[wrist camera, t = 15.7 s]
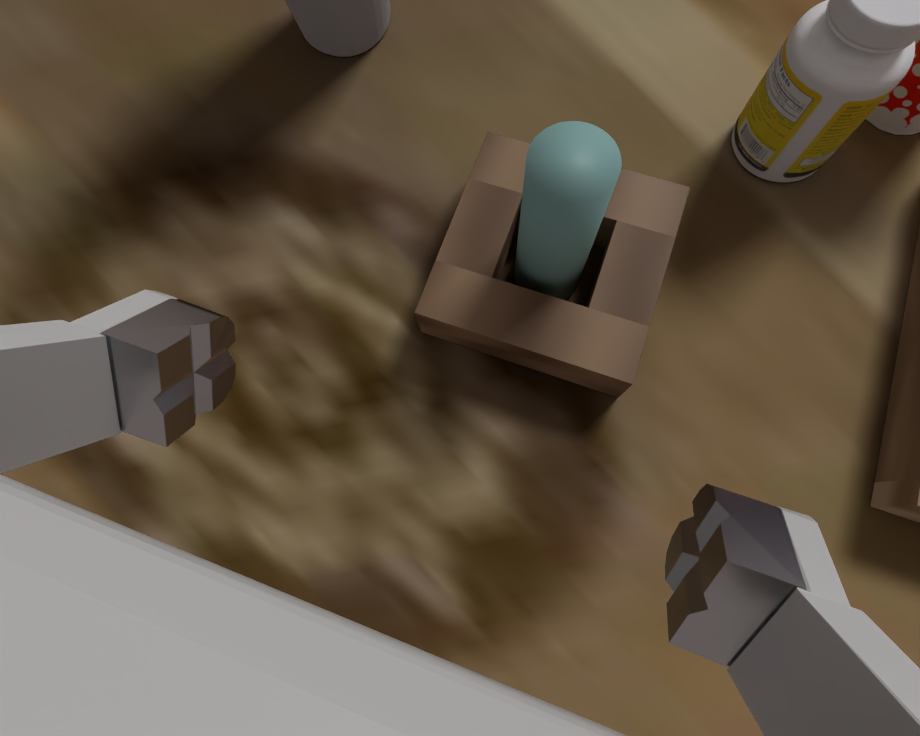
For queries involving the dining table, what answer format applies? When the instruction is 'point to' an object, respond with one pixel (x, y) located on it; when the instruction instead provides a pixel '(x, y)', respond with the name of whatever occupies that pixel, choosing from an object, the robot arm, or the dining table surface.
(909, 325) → the clamp corral
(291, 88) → the dining table surface
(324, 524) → the dining table surface
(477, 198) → the socket block
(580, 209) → the peg
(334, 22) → the coffee cup
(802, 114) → the supplement bottle
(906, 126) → the beverage cup
